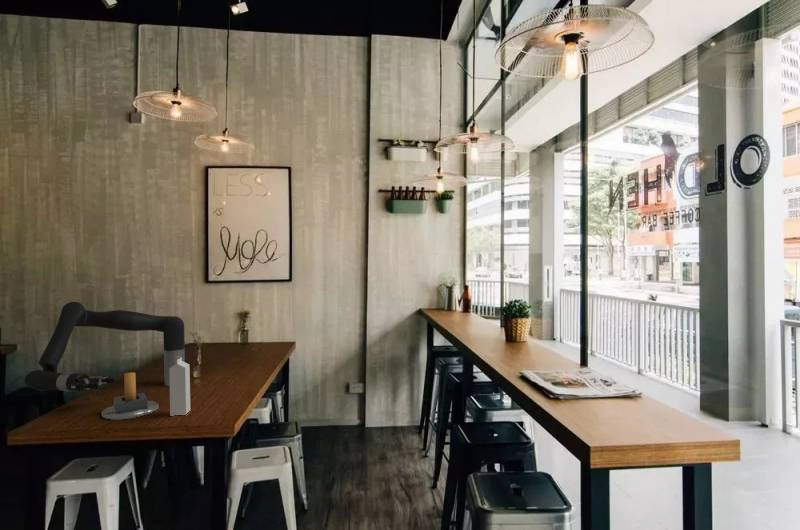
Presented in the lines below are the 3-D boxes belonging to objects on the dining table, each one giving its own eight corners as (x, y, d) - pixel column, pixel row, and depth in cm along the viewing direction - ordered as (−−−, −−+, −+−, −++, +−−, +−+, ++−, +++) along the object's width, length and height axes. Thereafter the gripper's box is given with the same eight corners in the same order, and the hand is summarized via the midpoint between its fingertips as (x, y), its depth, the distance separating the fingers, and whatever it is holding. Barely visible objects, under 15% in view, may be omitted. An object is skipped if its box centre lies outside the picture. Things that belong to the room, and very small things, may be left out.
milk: (190, 411, 192) (189, 356, 192) (186, 416, 186) (185, 359, 186) (174, 412, 191) (173, 357, 191) (169, 416, 185) (169, 360, 185)
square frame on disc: (155, 401, 206) (154, 388, 206) (161, 413, 189) (161, 399, 189) (100, 410, 195) (100, 396, 195) (102, 423, 178) (102, 409, 178)
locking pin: (135, 405, 195) (135, 371, 195) (136, 408, 191) (135, 373, 191) (124, 407, 193) (123, 373, 192) (125, 410, 189) (124, 375, 189)
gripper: (57, 377, 190) (92, 378, 187) (86, 369, 204) (119, 370, 201) (57, 395, 190) (92, 397, 187) (87, 386, 204) (120, 387, 201)
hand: (106, 383), depth 194 cm, fingers open, 8 cm apart
